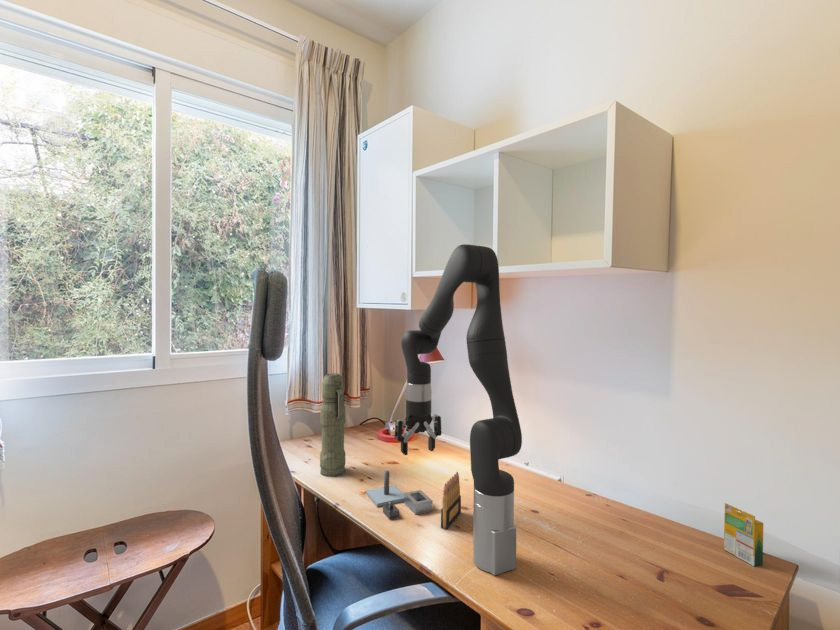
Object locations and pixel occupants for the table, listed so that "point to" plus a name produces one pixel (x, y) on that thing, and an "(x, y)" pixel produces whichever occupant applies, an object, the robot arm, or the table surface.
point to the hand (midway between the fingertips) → (418, 452)
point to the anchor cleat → (391, 510)
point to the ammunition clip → (451, 502)
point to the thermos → (332, 426)
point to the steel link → (417, 502)
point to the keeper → (385, 493)
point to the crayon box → (743, 535)
